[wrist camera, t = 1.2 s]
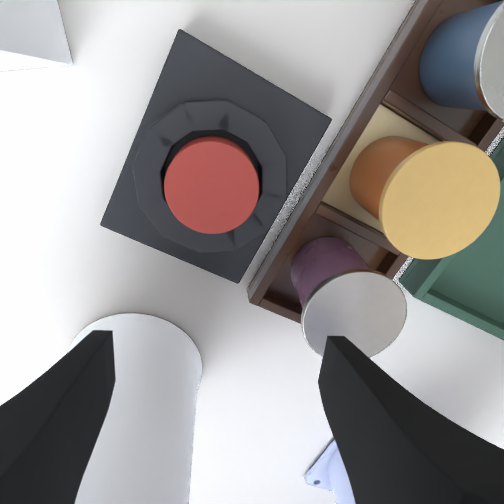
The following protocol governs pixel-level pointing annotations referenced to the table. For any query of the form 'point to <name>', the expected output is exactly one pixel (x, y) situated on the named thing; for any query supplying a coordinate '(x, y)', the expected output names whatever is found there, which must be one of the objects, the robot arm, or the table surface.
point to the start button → (211, 185)
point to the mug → (145, 415)
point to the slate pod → (467, 61)
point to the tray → (468, 273)
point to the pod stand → (352, 144)
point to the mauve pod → (345, 297)
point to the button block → (212, 124)
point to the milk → (32, 35)
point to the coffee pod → (426, 193)
